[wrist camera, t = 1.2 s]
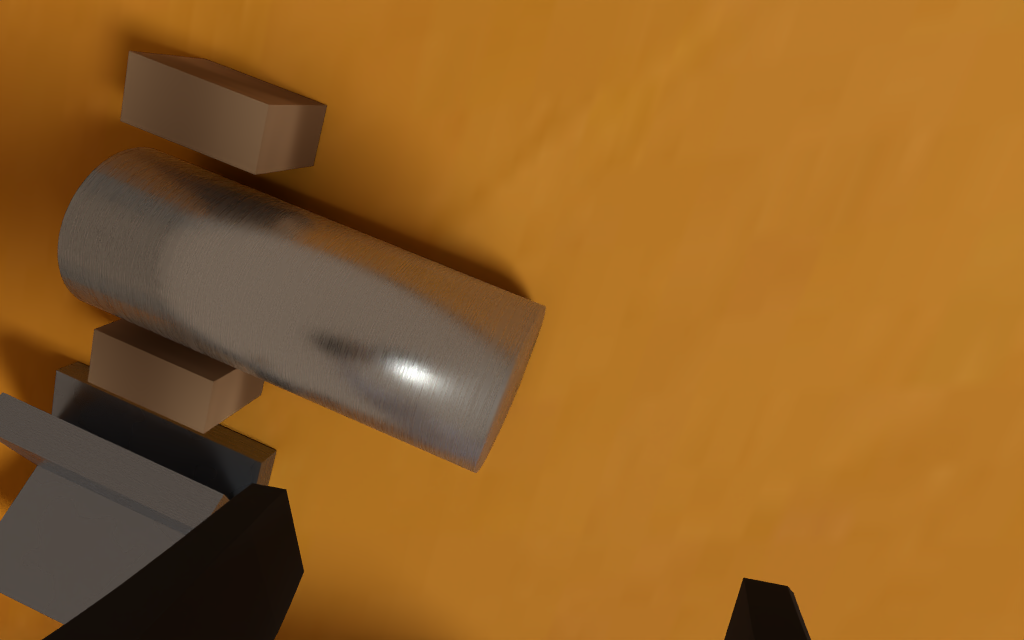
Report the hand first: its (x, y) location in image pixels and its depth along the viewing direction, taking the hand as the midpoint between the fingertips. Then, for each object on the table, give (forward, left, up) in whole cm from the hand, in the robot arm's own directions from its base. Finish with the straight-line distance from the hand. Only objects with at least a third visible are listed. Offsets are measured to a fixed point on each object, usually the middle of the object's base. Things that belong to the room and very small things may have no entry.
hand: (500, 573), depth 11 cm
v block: (+12, +11, -10) cm, 20 cm away
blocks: (+11, +1, -10) cm, 15 cm away
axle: (+7, +1, -10) cm, 13 cm away
